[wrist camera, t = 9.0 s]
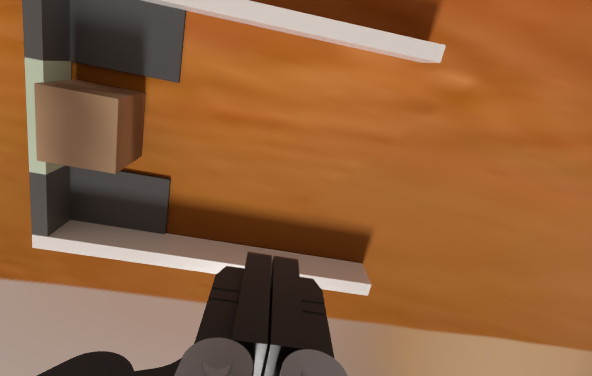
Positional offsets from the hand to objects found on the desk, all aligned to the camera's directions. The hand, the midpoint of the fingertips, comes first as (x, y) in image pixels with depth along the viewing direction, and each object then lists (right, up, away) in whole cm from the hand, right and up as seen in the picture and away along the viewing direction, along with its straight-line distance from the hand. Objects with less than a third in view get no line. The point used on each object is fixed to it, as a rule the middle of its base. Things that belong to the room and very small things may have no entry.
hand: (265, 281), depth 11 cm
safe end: (-15, +8, +14) cm, 22 cm away
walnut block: (-12, +8, +14) cm, 20 cm away
